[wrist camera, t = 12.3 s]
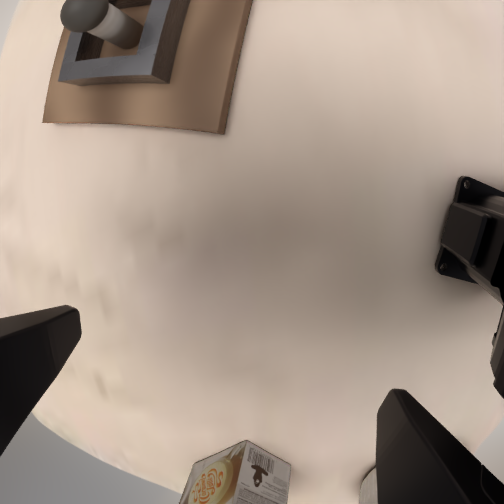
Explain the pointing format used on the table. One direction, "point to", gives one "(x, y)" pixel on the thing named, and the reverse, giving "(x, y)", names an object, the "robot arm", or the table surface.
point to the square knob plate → (153, 94)
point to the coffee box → (238, 478)
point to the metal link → (132, 66)
